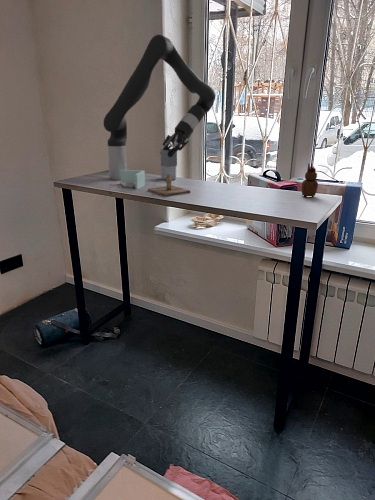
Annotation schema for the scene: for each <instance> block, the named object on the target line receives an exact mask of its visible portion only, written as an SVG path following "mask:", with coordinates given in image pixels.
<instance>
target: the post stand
mask: <svg viewBox="0 0 375 500" xmlns="http://www.w3.org/2000/svg"><path fill="white" fill-rule="evenodd" d="M165 180H166V186H165V185H164V186H160V187H159V186H158V187H152V188H148V189H147V191H148V192H149V193H153V194H156V195H159V196H162V197H171V196H177V195H184V194H185V195H186V194H191V189H190V190H189V189H188V188H187V189H186V188H182V187H178V186H176V185H172V180H171V175H170V174H168V175H167V176H166V179H165Z"/></svg>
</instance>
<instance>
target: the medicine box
mask: <svg viewBox="0 0 375 500" xmlns="http://www.w3.org/2000/svg"><path fill="white" fill-rule="evenodd" d="M160 172H161V173H160V175H161V176H160V178H161V180H166V176H167V175H168V174H170V175H171V181H172V180H173V181H175V180H177V166H171V167H166V166H161V165H160Z"/></svg>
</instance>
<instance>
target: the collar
mask: <svg viewBox="0 0 375 500" xmlns="http://www.w3.org/2000/svg"><path fill="white" fill-rule="evenodd" d="M171 149H172V148H170V149H163V148H162V149H160V152H161V154H160V167H161V166H166V167H171V166H176V167H177V166H178V151H176V152H175V153H174V155H173V156H172V157H169V156H168V153H169V152H170V150H171Z"/></svg>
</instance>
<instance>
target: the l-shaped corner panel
mask: <svg viewBox="0 0 375 500" xmlns="http://www.w3.org/2000/svg"><path fill="white" fill-rule="evenodd" d="M145 171H146V170H135V169H133V170H132V169H127V170H121V180H120V181H121V184H122V187H123V188H135V190H139V189H140V188H142V187H143V186H145V185H146V178H145V177H146V176H145V175H146V172H145Z"/></svg>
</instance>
